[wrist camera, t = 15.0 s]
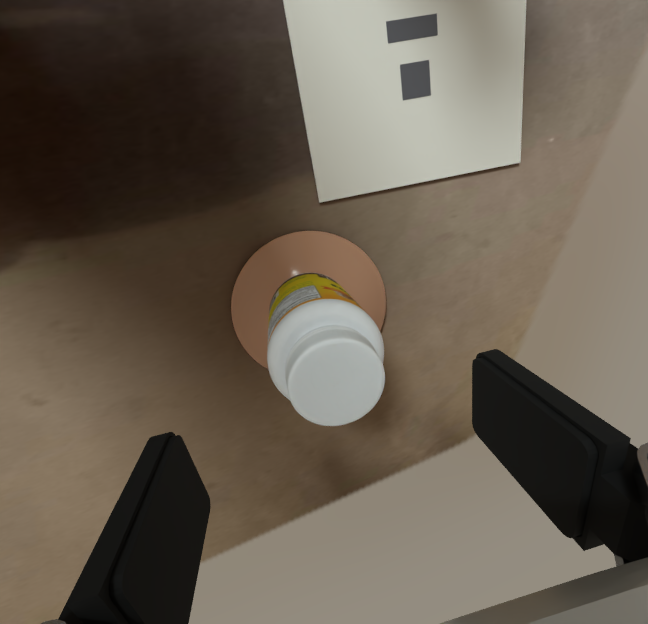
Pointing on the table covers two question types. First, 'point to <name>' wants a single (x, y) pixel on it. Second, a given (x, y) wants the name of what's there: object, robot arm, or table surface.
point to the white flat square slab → (407, 89)
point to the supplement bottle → (324, 351)
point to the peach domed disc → (292, 259)
